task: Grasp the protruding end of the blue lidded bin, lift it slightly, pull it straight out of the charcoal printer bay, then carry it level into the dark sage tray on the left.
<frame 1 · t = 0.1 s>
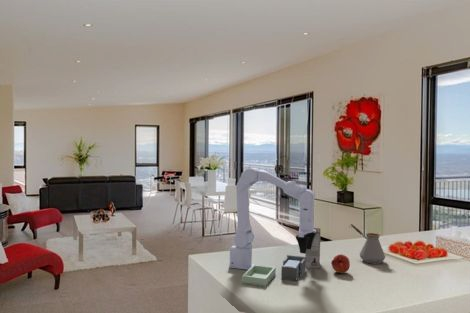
hand: (305, 251, 172), 10 cm above the counter, fingers open, 7 cm apart
coffee box: (312, 265, 186), on the counter
fruit: (340, 273, 176), on the counter
printer bay: (294, 272, 175), on the counter
tray: (259, 278, 166), on the counter
coffee pot: (364, 259, 198), on the counter
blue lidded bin: (291, 276, 170), on the counter
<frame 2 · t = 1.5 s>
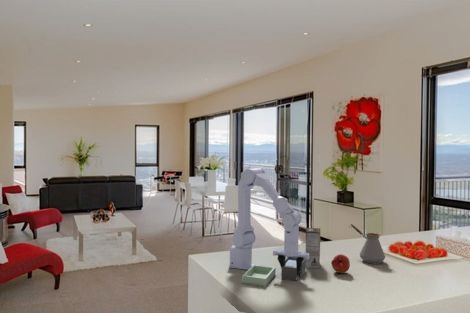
hand: (290, 274, 168), 1 cm above the counter, fingers closed on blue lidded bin, 5 cm apart
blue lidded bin: (291, 276, 170), on the counter, touching gripper
everything else where it was.
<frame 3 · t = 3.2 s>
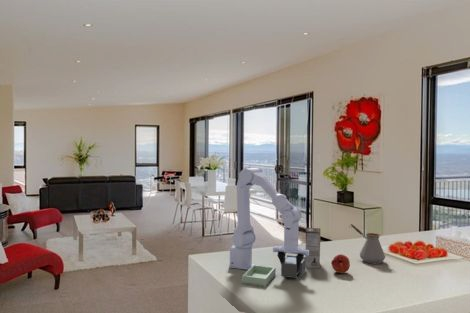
hand: (290, 271, 167), 3 cm above the counter, fingers closed on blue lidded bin, 5 cm apart
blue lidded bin: (291, 273, 169), point 1 cm above the counter, touching gripper
everything else where it was.
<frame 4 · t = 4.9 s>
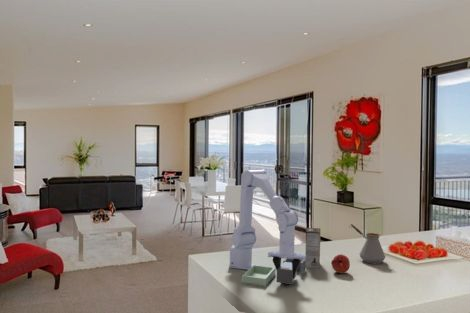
hand: (286, 277, 160), 3 cm above the counter, fingers closed on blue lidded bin, 5 cm apart
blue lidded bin: (287, 279, 162), point 1 cm above the counter, touching gripper
everything else where it was.
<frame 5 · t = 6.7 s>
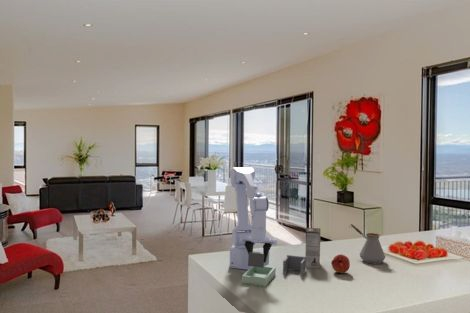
hand: (257, 261, 163), 8 cm above the counter, fingers closed on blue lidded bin, 5 cm apart
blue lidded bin: (259, 265, 165), point 6 cm above the counter, tilted 9°, touching gripper
everything else where it was.
when the fingers open (3 cm above the counter, at t = 8.0 s): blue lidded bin stays where it is, resting on tray.
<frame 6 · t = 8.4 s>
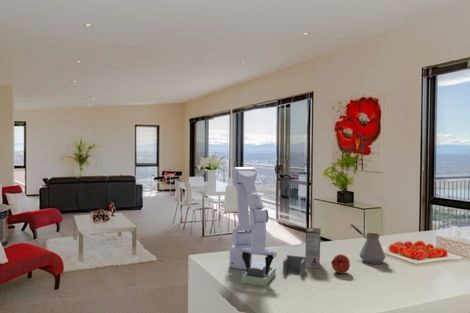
hand: (257, 272, 163), 3 cm above the counter, fingers open, 7 cm apart
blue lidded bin: (258, 277, 165), resting on tray
everything else where it was.
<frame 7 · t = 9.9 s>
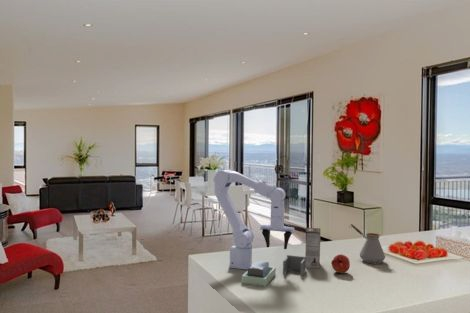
hand: (276, 247, 176), 10 cm above the counter, fingers open, 7 cm apart
nothing on the counter moved.
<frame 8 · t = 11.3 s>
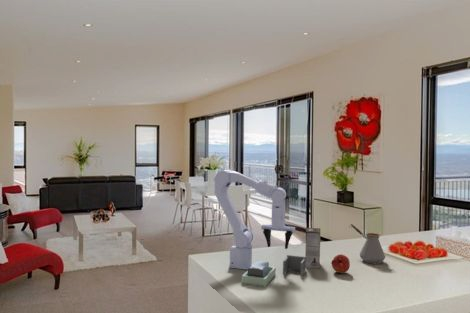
hand: (277, 247, 177), 10 cm above the counter, fingers open, 7 cm apart
nothing on the counter moved.
at the end: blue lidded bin inside the target area on the tray (0.5 cm from its centre), point 0.5 cm above the tray's base; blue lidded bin tilted 0°; the gripper is holding nothing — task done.
